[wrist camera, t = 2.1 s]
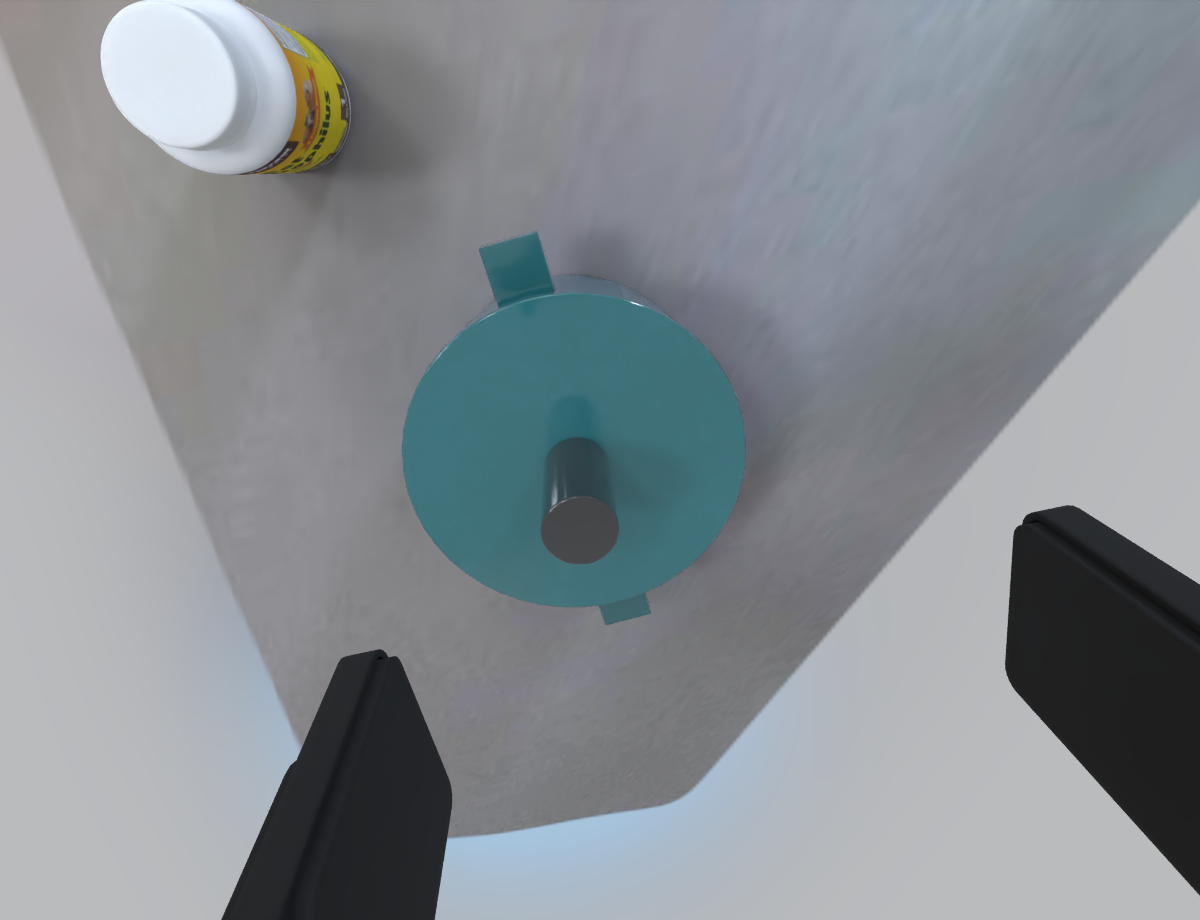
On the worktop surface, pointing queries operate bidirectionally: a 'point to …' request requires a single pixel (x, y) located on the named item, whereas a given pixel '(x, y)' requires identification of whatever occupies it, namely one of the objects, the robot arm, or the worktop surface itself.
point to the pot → (526, 273)
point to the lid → (573, 449)
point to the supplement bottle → (225, 87)
